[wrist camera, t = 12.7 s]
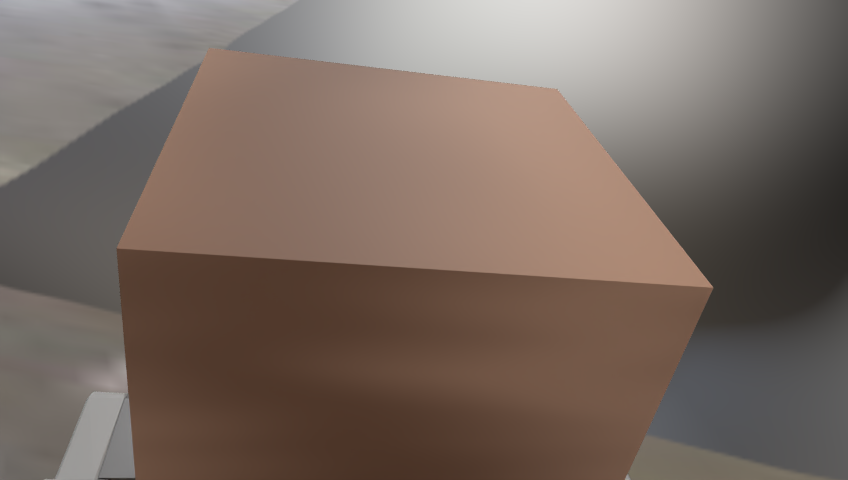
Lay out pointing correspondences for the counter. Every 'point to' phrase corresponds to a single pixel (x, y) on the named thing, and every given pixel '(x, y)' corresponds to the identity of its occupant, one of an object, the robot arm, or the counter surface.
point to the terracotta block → (392, 284)
